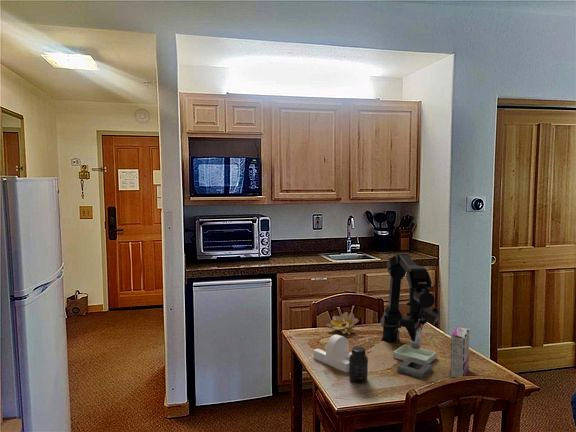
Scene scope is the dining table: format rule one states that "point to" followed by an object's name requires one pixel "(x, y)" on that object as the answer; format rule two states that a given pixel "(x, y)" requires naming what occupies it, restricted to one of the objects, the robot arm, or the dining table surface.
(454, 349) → the candy bar box
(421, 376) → the collar
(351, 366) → the supplement bottle
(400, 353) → the tray
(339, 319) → the decorative flower
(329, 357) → the white tape roll holder
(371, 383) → the dining table surface
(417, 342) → the salt shaker
